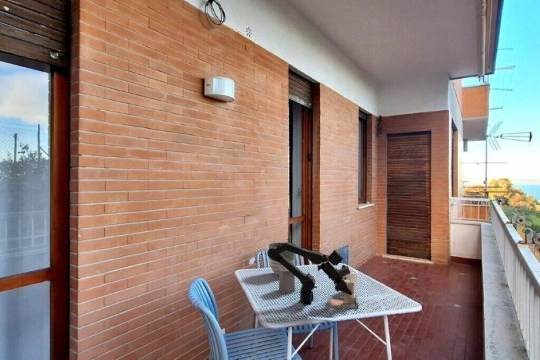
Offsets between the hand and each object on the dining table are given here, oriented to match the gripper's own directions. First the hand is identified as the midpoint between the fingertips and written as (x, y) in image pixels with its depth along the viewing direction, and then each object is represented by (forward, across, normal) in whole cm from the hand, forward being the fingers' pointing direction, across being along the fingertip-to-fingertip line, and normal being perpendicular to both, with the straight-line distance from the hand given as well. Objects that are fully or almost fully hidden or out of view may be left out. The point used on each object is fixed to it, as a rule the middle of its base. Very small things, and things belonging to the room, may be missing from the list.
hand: (351, 293), depth 172 cm
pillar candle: (-22, +17, +32) cm, 42 cm away
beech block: (+3, 0, +5) cm, 6 cm away
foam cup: (+5, +20, +5) cm, 21 cm away
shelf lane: (+1, 0, +8) cm, 8 cm away
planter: (-28, +52, +38) cm, 70 cm away
